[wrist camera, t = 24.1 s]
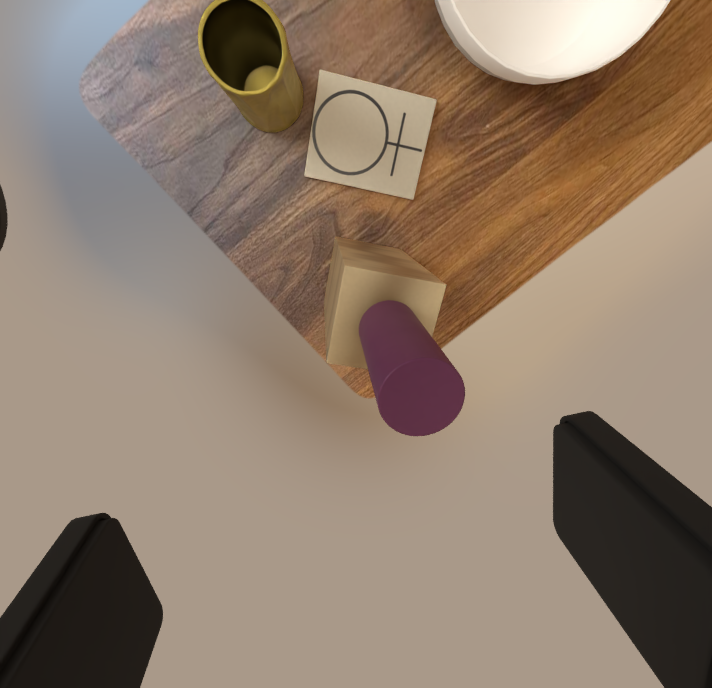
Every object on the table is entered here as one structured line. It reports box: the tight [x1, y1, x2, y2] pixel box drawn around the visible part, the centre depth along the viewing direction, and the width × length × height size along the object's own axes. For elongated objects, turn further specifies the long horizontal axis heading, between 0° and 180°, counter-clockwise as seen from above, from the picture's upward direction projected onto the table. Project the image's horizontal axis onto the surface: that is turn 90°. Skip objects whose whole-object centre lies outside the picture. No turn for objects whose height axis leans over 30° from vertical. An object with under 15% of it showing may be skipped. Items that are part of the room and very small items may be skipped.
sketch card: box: [304, 70, 437, 200], centre depth 39 cm, size 11×9×1 cm
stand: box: [324, 236, 446, 369], centre depth 36 cm, size 7×7×17 cm
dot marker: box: [359, 300, 465, 436], centre depth 24 cm, size 4×4×11 cm
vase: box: [198, 0, 303, 132], centre depth 31 cm, size 6×6×14 cm
